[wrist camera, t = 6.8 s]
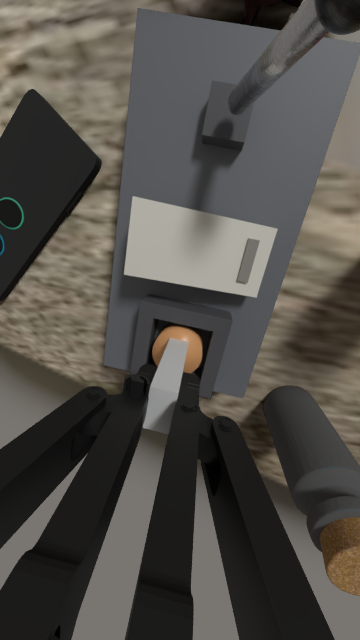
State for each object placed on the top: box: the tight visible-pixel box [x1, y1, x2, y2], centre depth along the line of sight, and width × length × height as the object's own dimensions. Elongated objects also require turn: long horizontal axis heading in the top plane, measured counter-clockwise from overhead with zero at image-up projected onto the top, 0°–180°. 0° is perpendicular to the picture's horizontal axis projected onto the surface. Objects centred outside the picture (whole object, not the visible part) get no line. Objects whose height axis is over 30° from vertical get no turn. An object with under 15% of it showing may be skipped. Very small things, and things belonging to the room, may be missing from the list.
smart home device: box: [0, 89, 102, 301], centre depth 24 cm, size 8×2×20 cm
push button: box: [152, 322, 203, 373], centre depth 20 cm, size 4×4×2 cm
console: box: [103, 8, 360, 398], centre depth 20 cm, size 14×26×8 cm, turn 169°
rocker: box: [124, 196, 278, 298], centre depth 17 cm, size 10×5×1 cm, turn 79°
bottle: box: [263, 386, 360, 596], centre depth 21 cm, size 6×6×15 cm
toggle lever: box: [228, 0, 360, 115], centre depth 10 cm, size 2×2×10 cm
